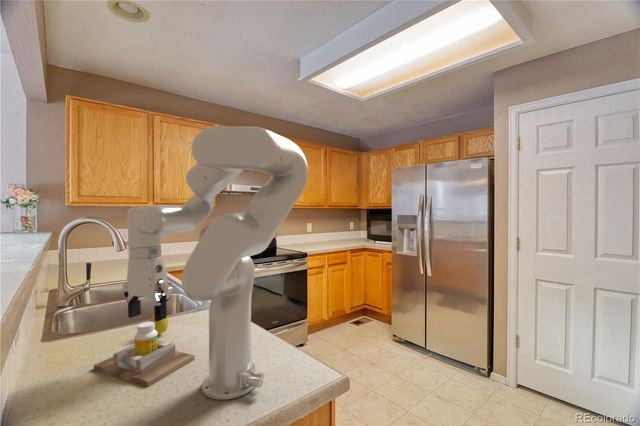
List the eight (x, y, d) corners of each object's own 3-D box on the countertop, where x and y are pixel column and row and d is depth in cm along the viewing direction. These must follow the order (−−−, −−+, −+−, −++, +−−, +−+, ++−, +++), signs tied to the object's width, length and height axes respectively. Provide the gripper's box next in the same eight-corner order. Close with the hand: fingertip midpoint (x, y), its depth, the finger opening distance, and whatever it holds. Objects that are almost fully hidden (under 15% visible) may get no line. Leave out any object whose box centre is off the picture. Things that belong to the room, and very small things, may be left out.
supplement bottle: (138, 356, 84) (138, 321, 84) (160, 354, 85) (160, 319, 85) (131, 366, 79) (131, 328, 78) (154, 363, 80) (154, 327, 80)
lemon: (160, 339, 97) (160, 314, 97) (145, 338, 99) (145, 313, 99) (172, 333, 103) (171, 309, 103) (157, 331, 104) (157, 308, 104)
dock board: (194, 359, 85) (194, 344, 85) (148, 386, 72) (148, 368, 72) (143, 347, 92) (143, 333, 92) (93, 369, 79) (93, 353, 79)
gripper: (181, 252, 82) (183, 316, 82) (135, 251, 88) (137, 310, 88) (156, 256, 75) (158, 326, 75) (109, 254, 81) (111, 319, 81)
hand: (147, 317), depth 82 cm, fingers open, 9 cm apart
